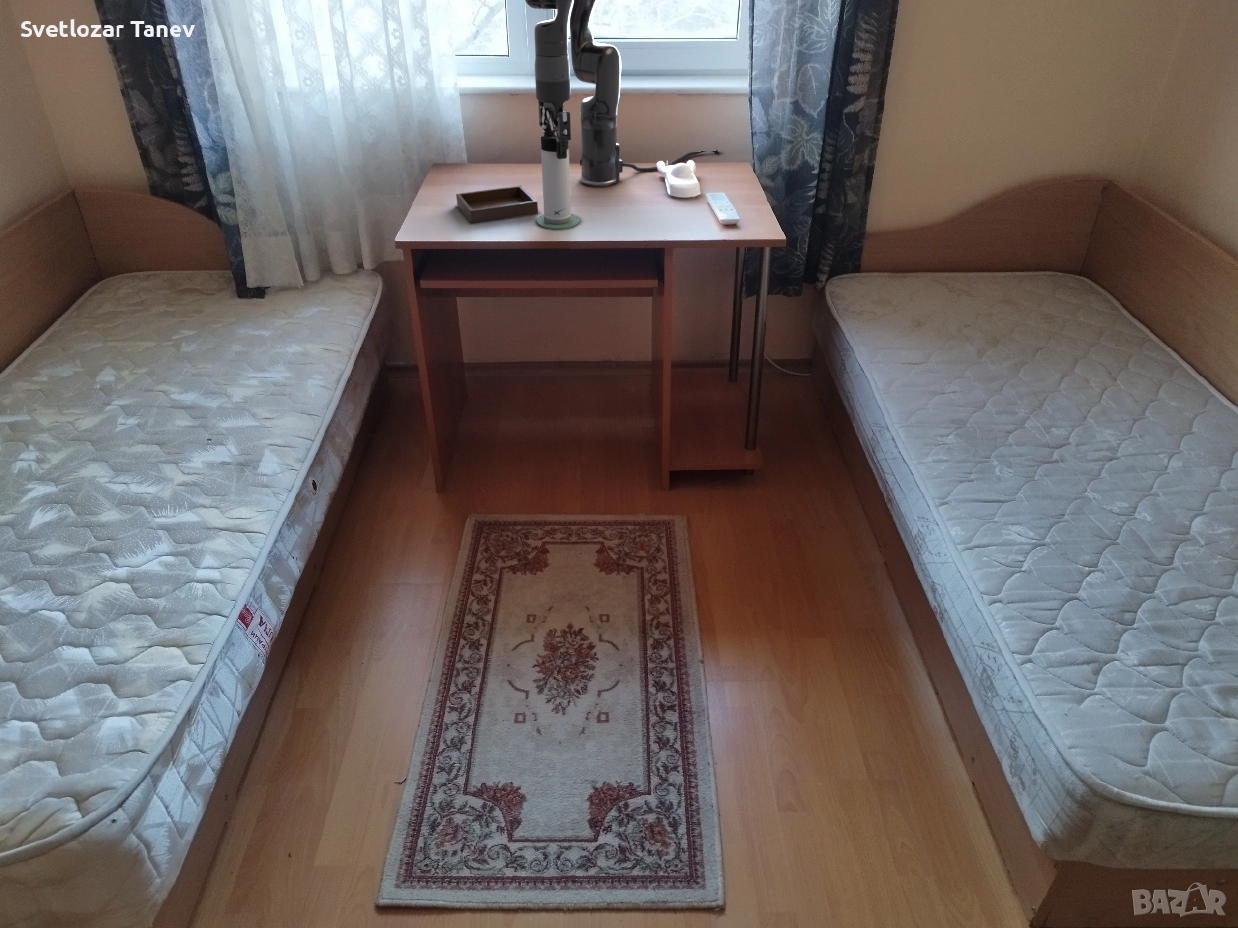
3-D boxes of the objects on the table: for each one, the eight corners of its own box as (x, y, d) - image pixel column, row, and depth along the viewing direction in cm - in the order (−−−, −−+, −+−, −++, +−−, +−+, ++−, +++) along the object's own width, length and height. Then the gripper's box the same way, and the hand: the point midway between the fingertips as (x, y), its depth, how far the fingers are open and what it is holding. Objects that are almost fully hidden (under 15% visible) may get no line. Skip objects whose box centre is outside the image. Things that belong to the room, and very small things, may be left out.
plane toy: (665, 200, 218) (665, 177, 215) (656, 174, 234) (656, 152, 231) (706, 199, 219) (707, 176, 216) (694, 173, 235) (695, 151, 232)
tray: (521, 197, 220) (520, 185, 218) (538, 213, 210) (537, 201, 209) (457, 206, 214) (456, 194, 213) (471, 223, 205) (470, 211, 203)
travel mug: (562, 227, 202) (559, 138, 191) (539, 221, 205) (534, 134, 193) (577, 218, 207) (575, 132, 195) (554, 213, 209) (551, 127, 198)
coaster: (570, 211, 212) (570, 210, 211) (585, 225, 204) (585, 224, 204) (531, 217, 208) (531, 215, 208) (545, 232, 201) (545, 230, 201)
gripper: (581, 82, 183) (582, 160, 193) (557, 67, 194) (560, 143, 203) (547, 85, 181) (550, 164, 190) (525, 70, 191) (529, 146, 201)
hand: (555, 153), depth 197 cm, fingers open, 7 cm apart
